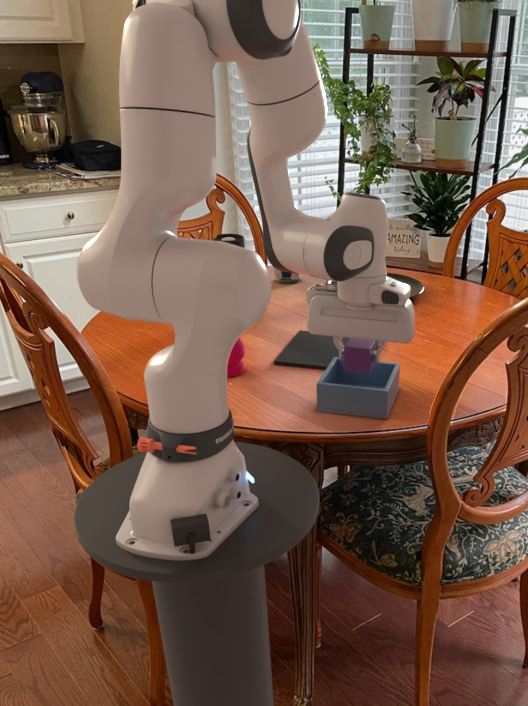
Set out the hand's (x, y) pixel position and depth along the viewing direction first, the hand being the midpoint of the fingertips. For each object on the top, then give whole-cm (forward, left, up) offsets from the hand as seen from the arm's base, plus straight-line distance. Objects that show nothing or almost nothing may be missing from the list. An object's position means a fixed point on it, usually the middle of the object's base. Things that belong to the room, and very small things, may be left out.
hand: (359, 359), depth 136 cm
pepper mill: (+7, +30, -9) cm, 32 cm away
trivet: (+23, +12, -9) cm, 28 cm away
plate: (+69, +11, -9) cm, 71 cm away
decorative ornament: (+74, +38, -9) cm, 84 cm away
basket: (0, 0, -9) cm, 9 cm away
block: (0, 0, -2) cm, 2 cm away
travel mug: (+39, +41, -9) cm, 58 cm away
